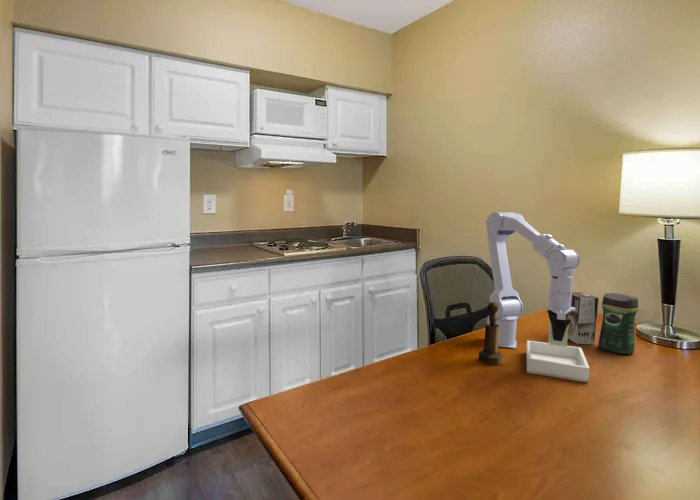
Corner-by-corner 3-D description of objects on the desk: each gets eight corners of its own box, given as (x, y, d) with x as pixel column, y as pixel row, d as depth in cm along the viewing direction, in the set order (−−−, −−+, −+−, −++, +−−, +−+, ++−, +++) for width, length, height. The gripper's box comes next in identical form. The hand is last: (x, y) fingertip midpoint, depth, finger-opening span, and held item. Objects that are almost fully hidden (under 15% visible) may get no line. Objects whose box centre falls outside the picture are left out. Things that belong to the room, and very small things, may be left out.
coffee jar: (638, 352, 132) (644, 296, 130) (625, 357, 128) (631, 298, 126) (606, 343, 141) (611, 290, 139) (593, 347, 137) (598, 292, 134)
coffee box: (595, 344, 139) (599, 298, 137) (576, 344, 139) (580, 297, 137) (580, 336, 148) (584, 292, 146) (562, 335, 148) (566, 291, 147)
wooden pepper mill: (498, 357, 126) (502, 299, 124) (504, 366, 119) (508, 305, 117) (476, 356, 126) (480, 299, 124) (481, 364, 120) (484, 304, 118)
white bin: (526, 372, 115) (527, 358, 114) (526, 352, 131) (527, 340, 130) (588, 382, 109) (589, 368, 109) (580, 360, 125) (581, 347, 124)
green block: (549, 344, 118) (550, 324, 117) (548, 339, 122) (549, 320, 121) (566, 346, 116) (568, 326, 115) (565, 341, 120) (566, 321, 120)
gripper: (579, 298, 109) (575, 347, 111) (573, 288, 122) (569, 332, 124) (550, 295, 112) (546, 343, 113) (547, 285, 125) (544, 329, 127)
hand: (556, 337), depth 119 cm, fingers closed on green block, 4 cm apart
